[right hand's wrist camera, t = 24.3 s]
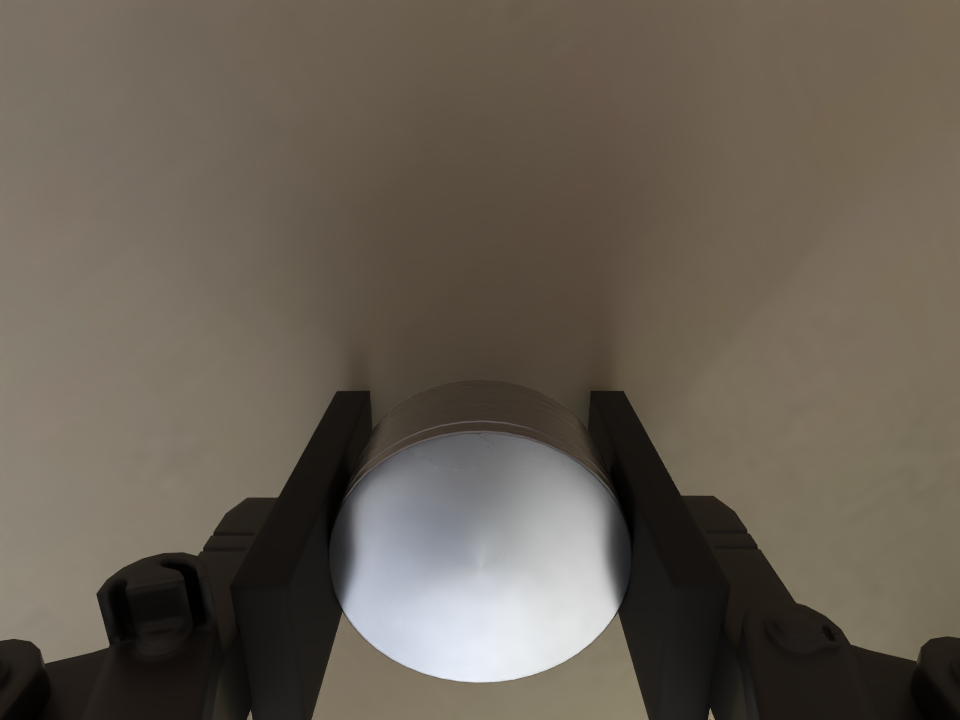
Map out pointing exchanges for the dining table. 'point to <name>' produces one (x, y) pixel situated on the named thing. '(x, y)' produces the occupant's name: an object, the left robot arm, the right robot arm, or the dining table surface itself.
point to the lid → (480, 535)
